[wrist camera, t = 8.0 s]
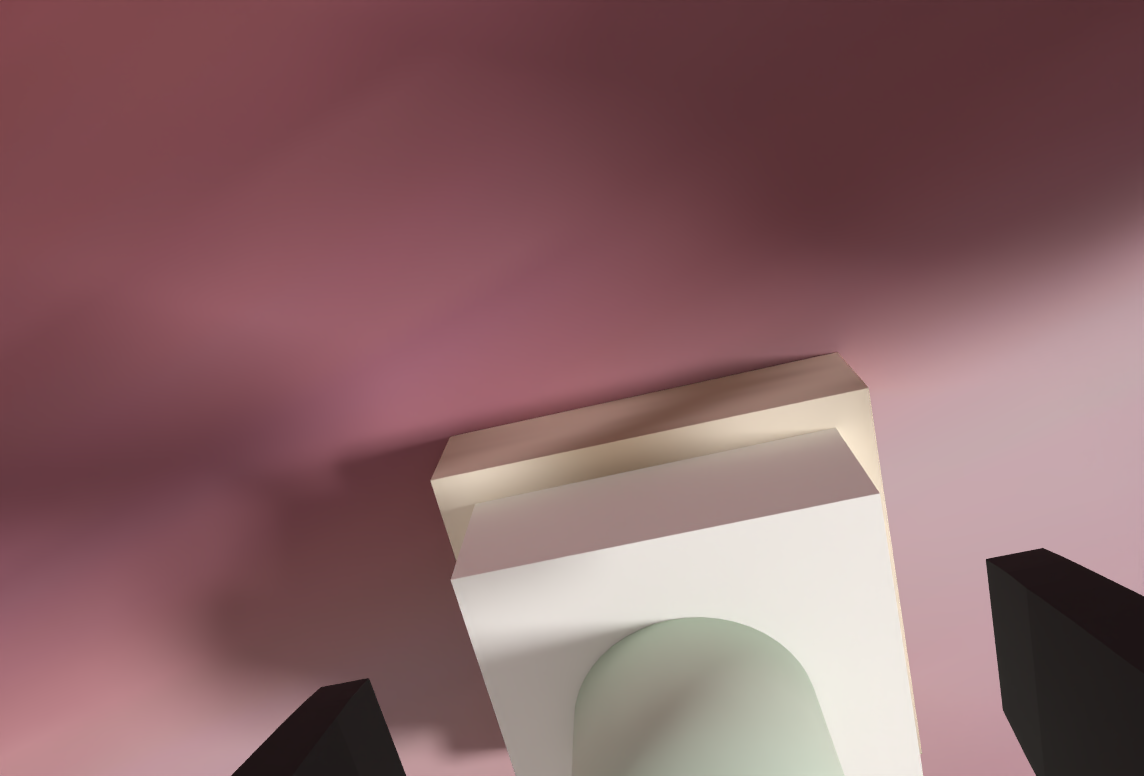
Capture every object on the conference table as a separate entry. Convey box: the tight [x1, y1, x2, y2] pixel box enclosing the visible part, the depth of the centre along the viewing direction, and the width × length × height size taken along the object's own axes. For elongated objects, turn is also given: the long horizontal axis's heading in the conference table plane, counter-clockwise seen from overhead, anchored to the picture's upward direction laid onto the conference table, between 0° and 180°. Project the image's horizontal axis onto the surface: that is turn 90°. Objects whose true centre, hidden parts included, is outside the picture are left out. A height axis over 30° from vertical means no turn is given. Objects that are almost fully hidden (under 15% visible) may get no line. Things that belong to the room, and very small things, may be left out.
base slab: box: [430, 352, 922, 754], centre depth 20 cm, size 9×9×3 cm
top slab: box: [451, 428, 923, 776], centre depth 18 cm, size 8×8×3 cm
